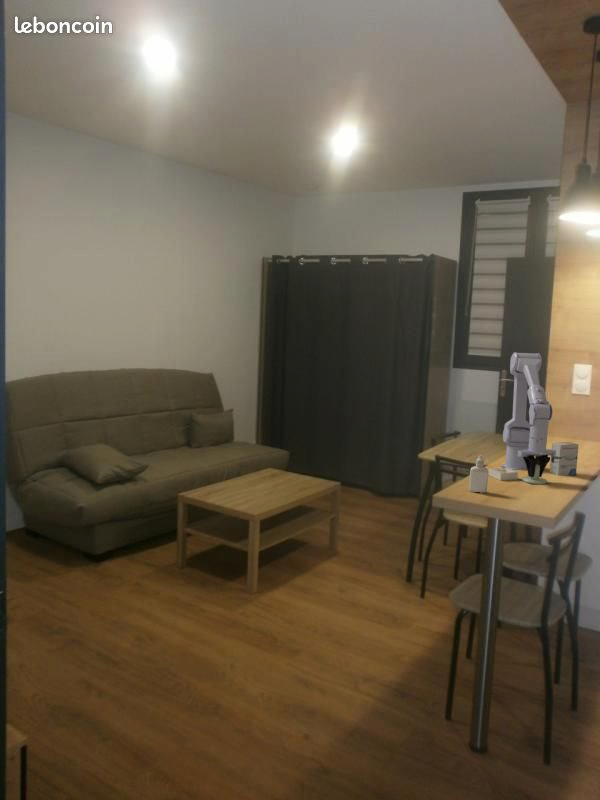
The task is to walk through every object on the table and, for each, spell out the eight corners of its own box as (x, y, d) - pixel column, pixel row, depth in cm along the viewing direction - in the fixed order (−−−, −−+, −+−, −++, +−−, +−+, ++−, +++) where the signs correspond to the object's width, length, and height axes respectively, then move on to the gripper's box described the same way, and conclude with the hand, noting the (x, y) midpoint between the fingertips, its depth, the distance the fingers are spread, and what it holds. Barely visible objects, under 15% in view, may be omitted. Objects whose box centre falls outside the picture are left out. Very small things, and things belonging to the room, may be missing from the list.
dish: (504, 475, 238) (505, 467, 238) (517, 480, 232) (517, 472, 231) (488, 476, 236) (488, 468, 236) (500, 481, 229) (501, 473, 229)
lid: (536, 478, 235) (537, 462, 234) (551, 483, 228) (553, 467, 227) (517, 479, 232) (518, 463, 232) (532, 484, 225) (533, 468, 224)
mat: (536, 479, 235) (536, 478, 235) (551, 485, 228) (551, 483, 228) (517, 480, 232) (517, 479, 232) (532, 486, 225) (532, 485, 225)
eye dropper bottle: (483, 494, 211) (486, 458, 210) (466, 491, 215) (469, 455, 213) (488, 492, 215) (491, 455, 213) (472, 488, 218) (474, 453, 217)
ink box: (566, 472, 248) (569, 441, 247) (576, 475, 244) (579, 444, 242) (548, 473, 245) (551, 442, 244) (558, 476, 241) (561, 444, 239)
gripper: (528, 440, 222) (525, 480, 224) (563, 439, 227) (559, 478, 228) (515, 436, 228) (511, 475, 230) (549, 435, 233) (546, 473, 235)
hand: (534, 476), depth 230 cm, fingers closed on lid, 3 cm apart
